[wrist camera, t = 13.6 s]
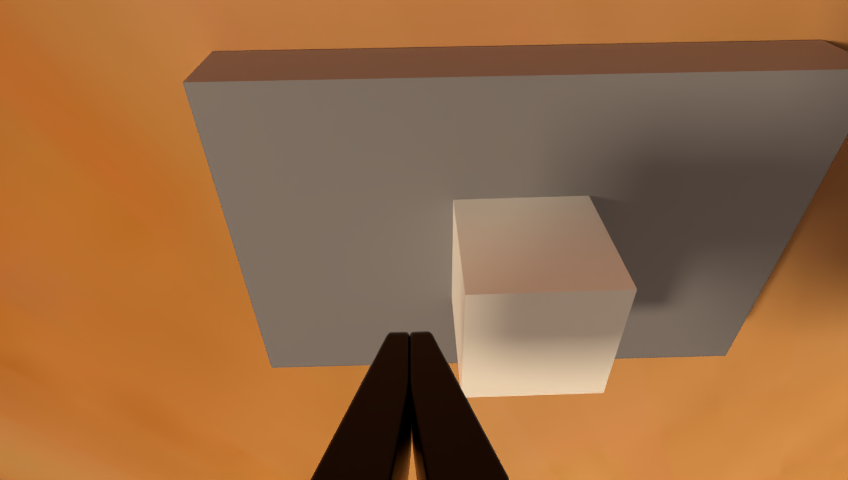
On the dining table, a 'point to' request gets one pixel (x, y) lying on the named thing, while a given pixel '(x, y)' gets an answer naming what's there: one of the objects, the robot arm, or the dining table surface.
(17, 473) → the dining table surface
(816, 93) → the socket plate
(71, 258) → the dining table surface
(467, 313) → the cream block
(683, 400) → the dining table surface
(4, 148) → the dining table surface
